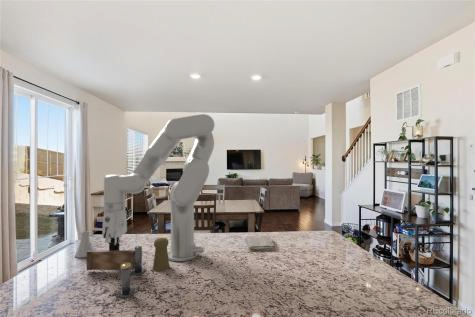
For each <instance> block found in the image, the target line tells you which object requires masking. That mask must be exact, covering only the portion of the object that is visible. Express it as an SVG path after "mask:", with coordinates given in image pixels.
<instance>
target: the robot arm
mask: <svg viewBox="0 0 475 317" xmlns="http://www.w3.org/2000/svg"><path fill="white" fill-rule="evenodd" d="M214 129H215V121H214V119H213V117H211V116H210V115H208V114H204V113H201V114H200V113H199V114H196V115H195V114H194V115H189V116H182V117H177V118H172V119H170V120H168V121H167V122H166V124H165V125H164V127H163V128H162V130H160V132H159V133H158V135H157V136H156V138H155V139H154V140H153V142H152V143H151V144H150V145H149V147H148V148H147V149H146V151H145V153H144V154H143V157H142V158H141V160H140V162H139V163H138V164H137V165H136V166H135V169H133V171H132V172H131V173H130V174H128V175H123V174H107V175H105V176H104V178H103V217H102V218H103V219H102V230H101V231H102V232H101V233H102V238H103V239H104V240H105V241H104V243H106V244H107V245H108V250H120V243H121V237H122V236H124V234H126V233H127V231H128V229H127V228H128V221H127V212H126V194H133V195H134V194H140V193H141V192H143V191H145V190H144V189H145V188H146V185H147V184H148V182H149V181H150V179H151V178H152V177H153V175H154V174H155V172H156V171H157V170H158V169H159V168H160V167H161V166H163V164H165V162H166V161H167V160H168V159H169V157H170V156H171V154H172V153H173V152H174V150H175V149H176V147H177V146H178V145H179V143H180V142H181V140H184V139H185V140H187V139H190V138H194V145H193V146H192V149H191V151H190V153H189V154H188V157H187V159H186V160H185V162H184V164H183V166H182V175H181V176H180V178H179V180H178V181H176V182H175V183H174V184H172V186H171V189H170V193H169V196H170V251H169V252H168V259H169V261H173V262H186V261H191V260H193V259H195V258H196V257H198V253H199V254H200V253H201V254H203V253H205V248H204V247H203V246H197V244H196V242H195V208H194V206H195V205H194V204H195V202H197V199H198V198H199V196H200V194H201V192H202V190H203V188H204V186H205V183H206V182H207V179H208V177H209V174H210V165H209V164H208V162H209V160H210V158H211V156H212V153H213V151H214V148H215V140H214V139H215V138H214V135H213V131H214Z"/></svg>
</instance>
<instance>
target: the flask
mask: <svg viewBox="0 0 475 317" xmlns="http://www.w3.org/2000/svg"><path fill="white" fill-rule="evenodd" d="M90 232H91V231H90V230H85V231H81V232H80V234H81V236H80V242H79V245H78V248H77V250H76V252H75V255H74V258H78V259H79V258H80V259H81V258H87V251H89V250H95V249H94V247H93V245H92V242H91V240H90V239H91V238H90Z"/></svg>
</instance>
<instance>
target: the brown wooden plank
mask: <svg viewBox="0 0 475 317" xmlns="http://www.w3.org/2000/svg"><path fill="white" fill-rule="evenodd" d="M123 263H131V267H130V271H133V270H134V269H135V249H134V250H133V249H132V250H129V249H128V250H125V249H123V250H120V249H119V250H109V249H108V250H107V249H106V250H105V249H101V250H100V249H94V250H89V251H87V257H86V271H121V264H123Z"/></svg>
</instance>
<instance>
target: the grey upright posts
mask: <svg viewBox="0 0 475 317" xmlns="http://www.w3.org/2000/svg"><path fill="white" fill-rule="evenodd" d="M134 250H135V269H134V270H130V267H131V263H123V264H121V270H120V271H121V274H120V276H121V281H120V282H121V284H120V285H121V287H120V290H119V292H118V293H117V294H116V295H115V298H122V299H123V298H128V299H129V298H130V297H131V296H132V295H133V294H134V293H135V291H136V288H131V276H133V275H135V276H142V275H143V274H144V273H145V272H146V271H147V268H145V267H144V268H143V247H142V246H140V245H137V246H135V247H134Z"/></svg>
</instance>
